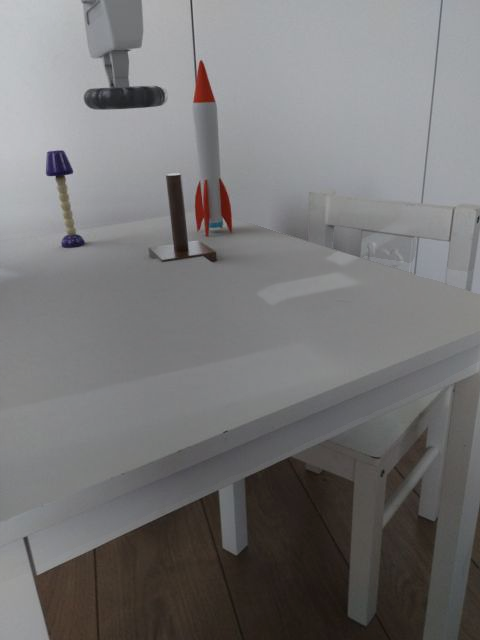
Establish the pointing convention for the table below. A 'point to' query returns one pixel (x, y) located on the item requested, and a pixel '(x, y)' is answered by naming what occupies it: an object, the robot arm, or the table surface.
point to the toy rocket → (208, 159)
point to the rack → (179, 229)
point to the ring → (125, 97)
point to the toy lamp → (63, 194)
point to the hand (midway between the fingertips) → (119, 92)
